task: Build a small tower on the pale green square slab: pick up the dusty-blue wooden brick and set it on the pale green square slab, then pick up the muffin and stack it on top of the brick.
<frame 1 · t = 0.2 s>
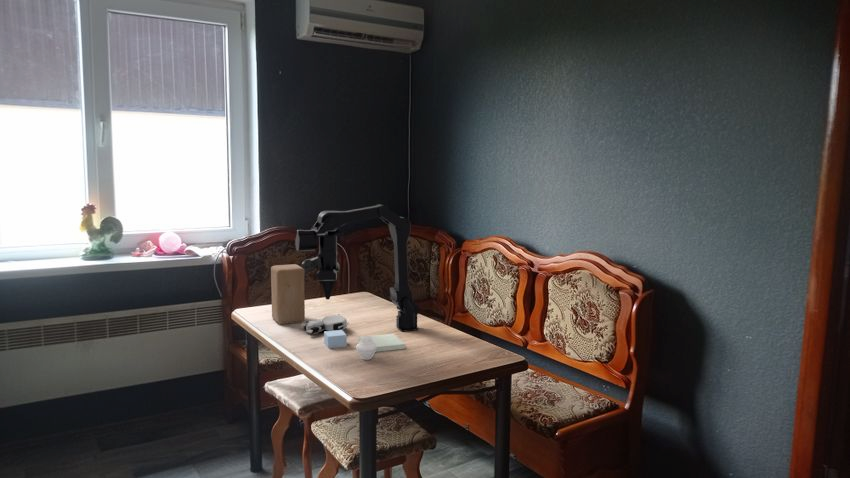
hand: (328, 296, 208), 14 cm above the table, tool pointing down, fingers open, 9 cm apart
wooden block: (288, 320, 230), on the table
robot toy: (325, 332, 217), on the table
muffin: (366, 358, 190), on the table
brick: (335, 345, 202), on the table
pale green square slab: (381, 344, 203), on the table
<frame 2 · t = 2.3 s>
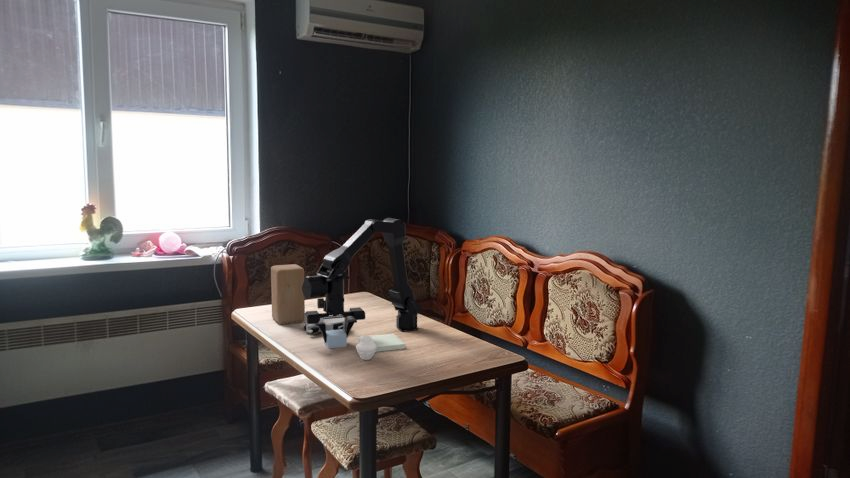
hand: (335, 341, 202), 1 cm above the table, tool pointing down, fingers closed on brick, 6 cm apart
brick: (335, 344, 202), on the table, touching gripper
everything else where it was.
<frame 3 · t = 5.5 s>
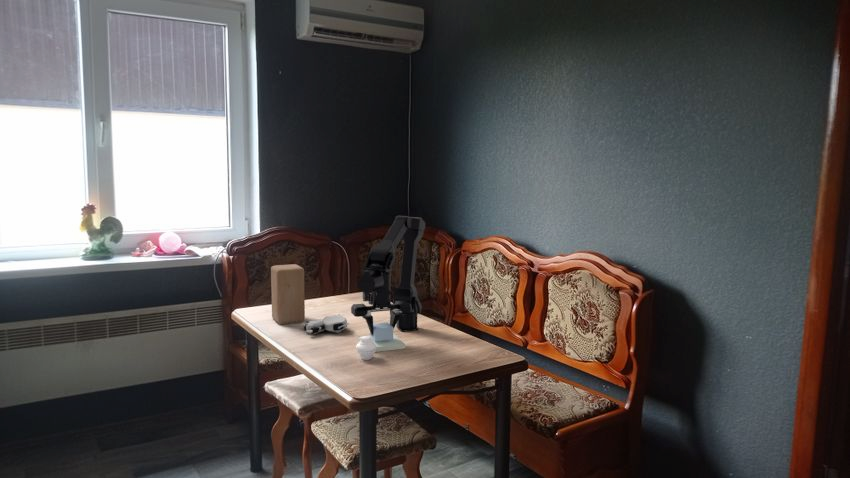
hand: (381, 334, 202), 4 cm above the table, tool pointing down, fingers closed on brick, 6 cm apart
brick: (381, 337, 202), point 2 cm above the table, touching gripper
everything else where it was.
when the fingers open (3 cm above the table, at t = 5.8 s): brick stays where it is, resting on pale green square slab.
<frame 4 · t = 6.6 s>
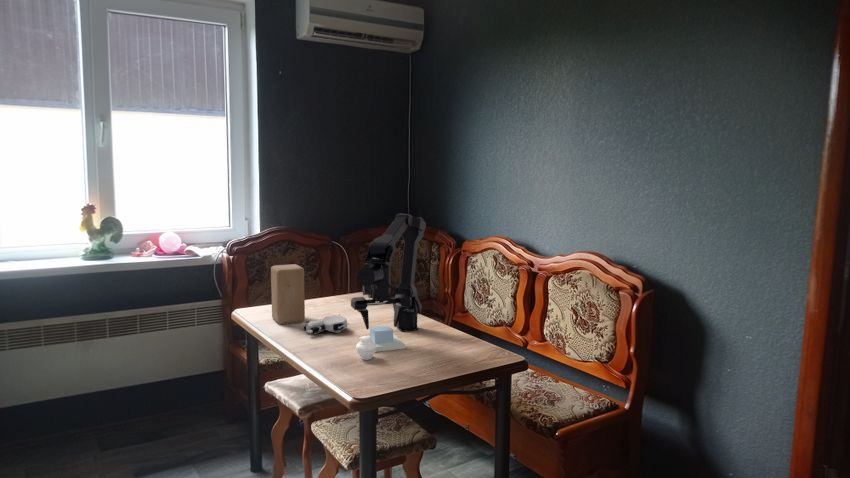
hand: (381, 327, 202), 6 cm above the table, tool pointing down, fingers open, 9 cm apart
brick: (381, 340, 202), point 1 cm above the table, touching pale green square slab
everything else where it was.
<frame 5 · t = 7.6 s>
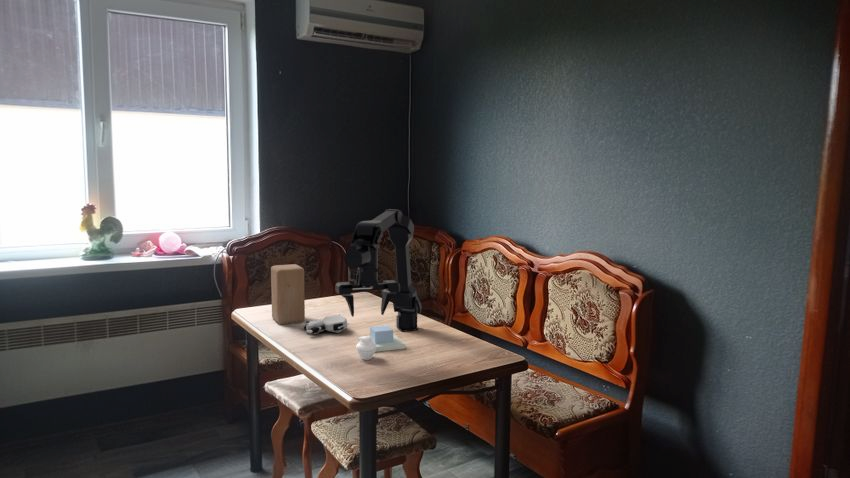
hand: (367, 315, 189), 13 cm above the table, tool pointing down, fingers open, 9 cm apart
nothing on the table moved.
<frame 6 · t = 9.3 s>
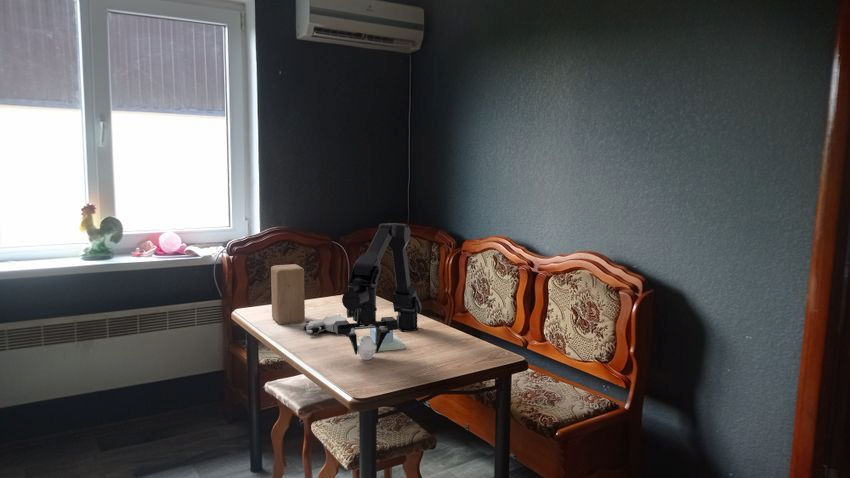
hand: (366, 353, 189), 2 cm above the table, tool pointing down, fingers closed on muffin, 6 cm apart
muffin: (366, 358, 190), on the table, touching gripper
everything else where it was.
when the fingers open (8 cm above the table, at t = 12.8 s): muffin stays where it is, resting on brick.
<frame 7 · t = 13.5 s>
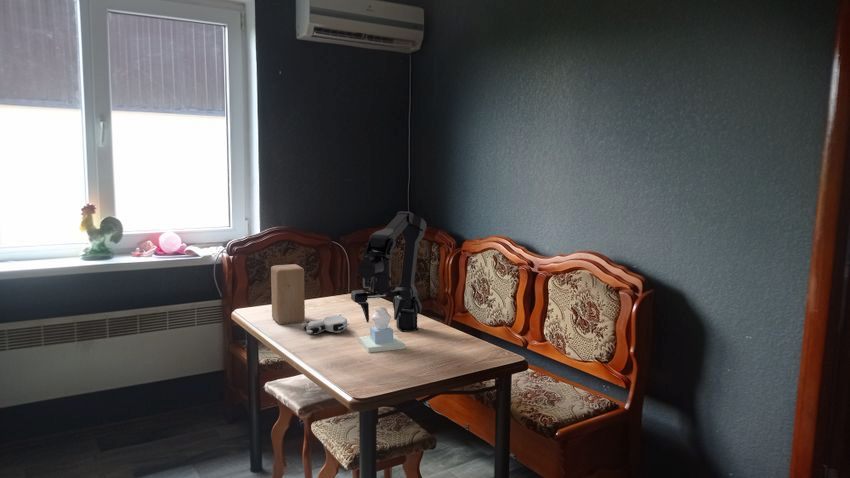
hand: (381, 320, 201), 8 cm above the table, tool pointing down, fingers open, 9 cm apart
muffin: (381, 328, 202), point 5 cm above the table, touching brick
brick: (381, 340, 202), point 1 cm above the table, touching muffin, pale green square slab
everything else where it was.
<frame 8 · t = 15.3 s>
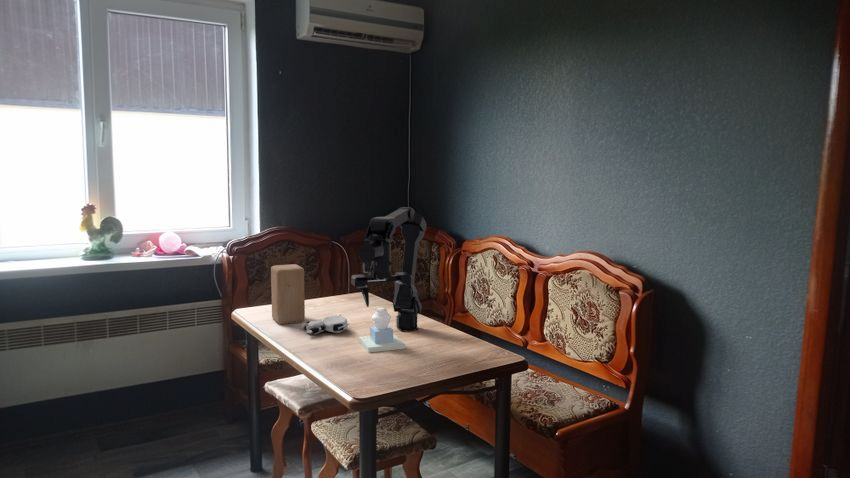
hand: (381, 305, 201), 13 cm above the table, tool pointing down, fingers open, 9 cm apart
nothing on the table moved.
at the end: brick inside the target area on the pale green square slab (0.0 cm from its centre), point 1.5 cm above the pale green square slab's base; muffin 0.1 cm off-centre on the brick, point 3.8 cm above the brick's base; the gripper is holding nothing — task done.
